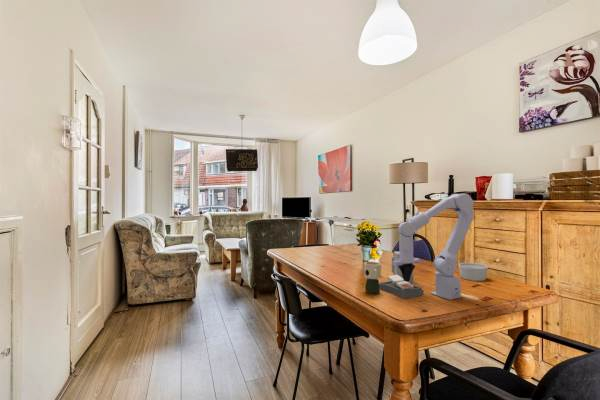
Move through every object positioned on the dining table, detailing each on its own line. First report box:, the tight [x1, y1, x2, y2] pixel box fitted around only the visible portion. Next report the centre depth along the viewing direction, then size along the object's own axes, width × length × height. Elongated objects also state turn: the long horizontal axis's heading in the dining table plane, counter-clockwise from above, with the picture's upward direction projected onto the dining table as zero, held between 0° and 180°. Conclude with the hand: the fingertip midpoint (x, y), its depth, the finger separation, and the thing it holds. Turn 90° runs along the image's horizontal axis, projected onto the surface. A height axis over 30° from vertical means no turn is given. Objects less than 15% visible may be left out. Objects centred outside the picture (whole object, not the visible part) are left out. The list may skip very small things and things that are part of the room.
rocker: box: [386, 274, 414, 290], centre depth 133 cm, size 10×6×2 cm, turn 27°
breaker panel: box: [379, 280, 425, 299], centre depth 133 cm, size 16×11×3 cm
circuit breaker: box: [391, 250, 415, 285], centre depth 149 cm, size 8×14×15 cm, turn 174°
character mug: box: [363, 261, 382, 294], centre depth 131 cm, size 11×7×13 cm, turn 2°
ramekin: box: [458, 262, 489, 282], centre depth 154 cm, size 13×13×7 cm
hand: (406, 281), depth 129 cm, fingers closed
